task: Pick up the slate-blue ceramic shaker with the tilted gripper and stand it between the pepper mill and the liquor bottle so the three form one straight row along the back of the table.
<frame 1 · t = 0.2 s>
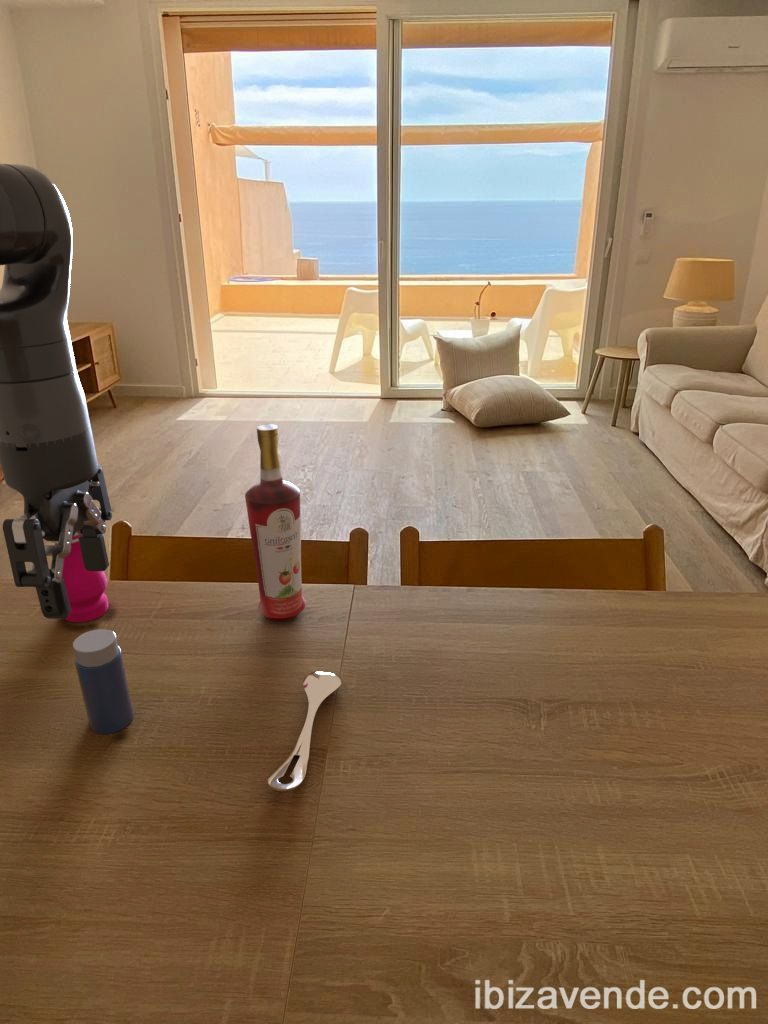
hand: (78, 591, 65), 21 cm above the table, tool pointing down, fingers open, 8 cm apart
ice cream scoop: (307, 736, 78), on the table
pepper mill: (86, 612, 102), on the table
liquor: (282, 614, 101), on the table
shaker: (111, 719, 80), on the table
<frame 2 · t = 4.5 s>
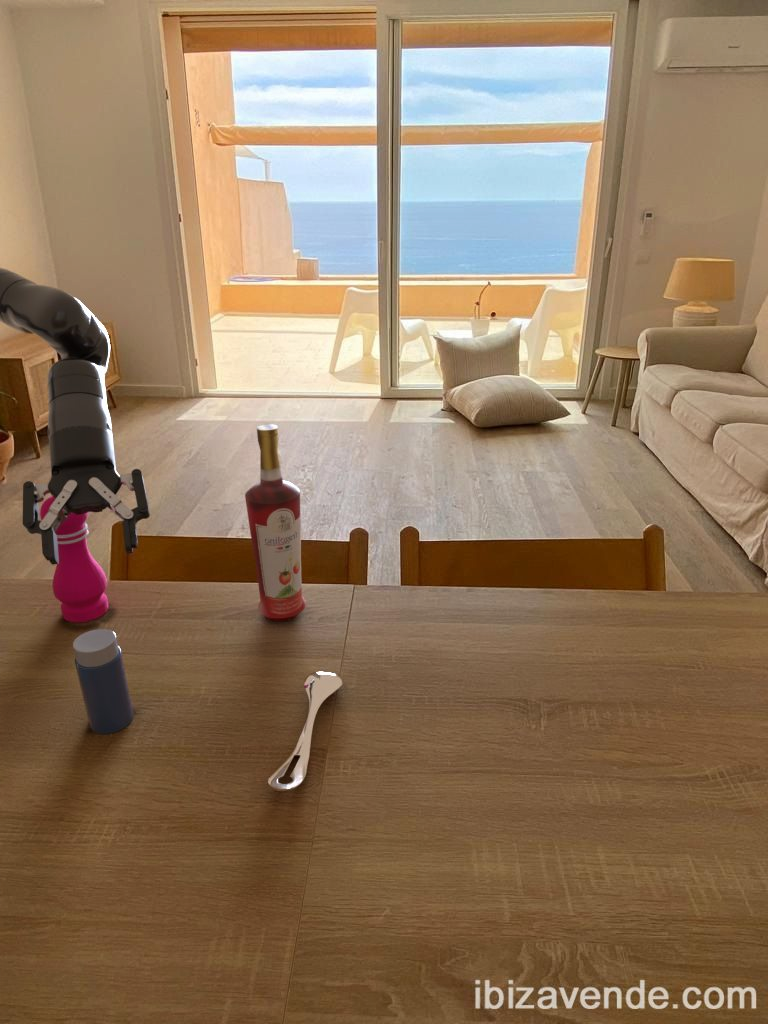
hand: (91, 557, 84), 16 cm above the table, tool tilted 45°, fingers open, 8 cm apart
nothing on the table moved.
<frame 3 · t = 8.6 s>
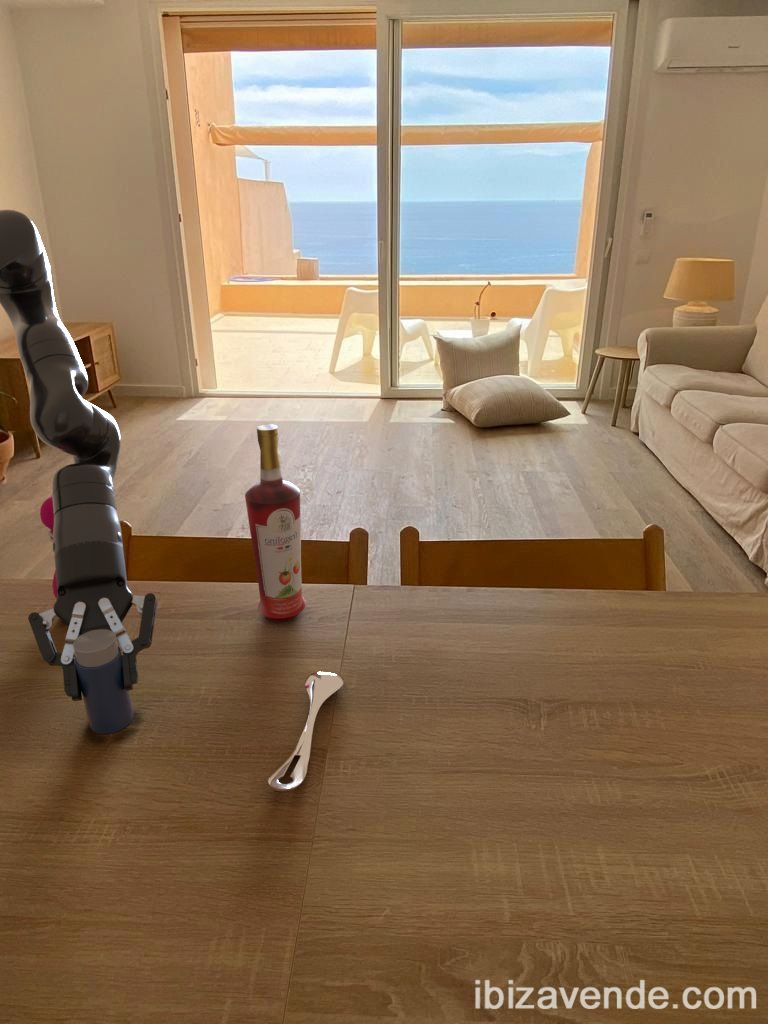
hand: (102, 693, 76), 5 cm above the table, tool tilted 45°, fingers closed on shaker, 4 cm apart
shaker: (111, 719, 80), on the table, touching gripper
everything else where it was.
when the fingers open (5 cm above the table, at t = 17.6 s): shaker stays where it is, on the table.
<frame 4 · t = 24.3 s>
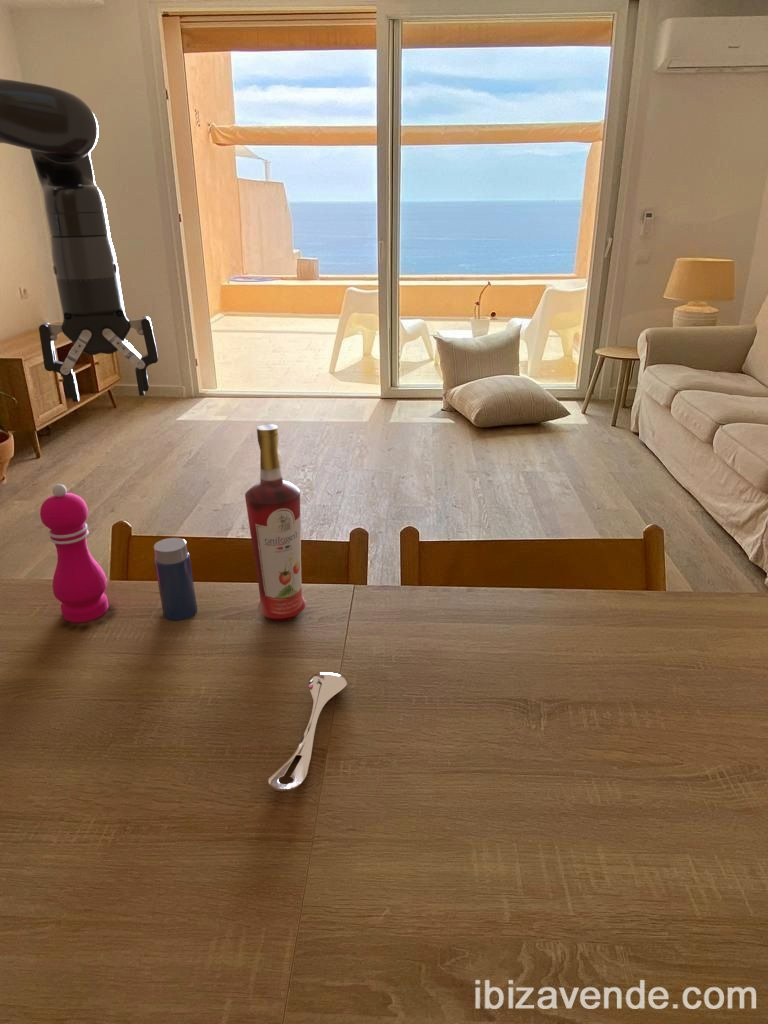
hand: (109, 397, 95), 30 cm above the table, tool pointing down, fingers open, 8 cm apart
shaker: (180, 611, 101), on the table
everything else where it was.
at the end: shaker 0.5 cm from the target spot, on the table; shaker tilted 0°; the gripper is holding nothing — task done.
